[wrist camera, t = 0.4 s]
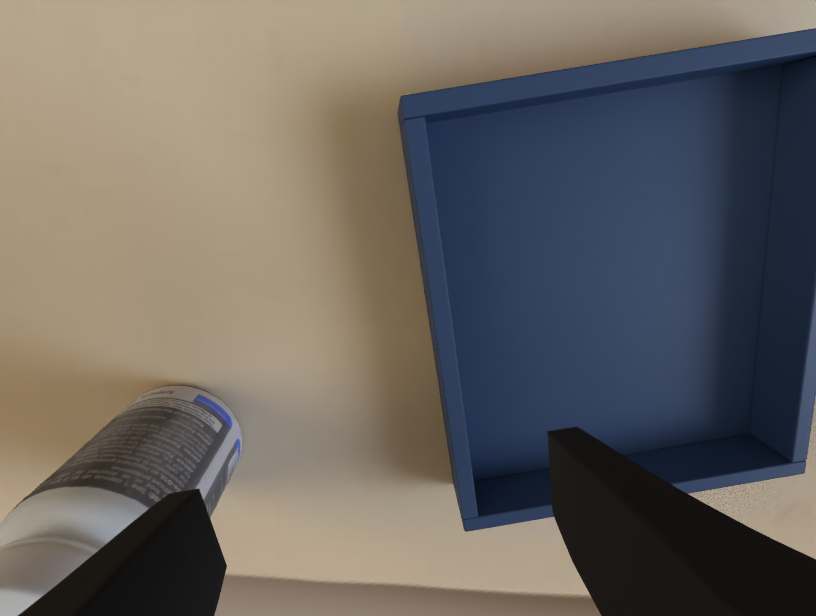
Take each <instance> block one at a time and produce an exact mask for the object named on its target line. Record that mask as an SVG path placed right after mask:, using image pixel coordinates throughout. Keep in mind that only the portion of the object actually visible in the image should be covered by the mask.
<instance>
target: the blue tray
mask: <svg viewBox="0 0 816 616" xmlns="http://www.w3.org/2000/svg"><path fill="white" fill-rule="evenodd" d="M398 118H399V125H400V132H401V138H402V145H403V152H404V158H405V165H406V171H407V178H408V185H409V191H410V198H411V205H412V211H413V218H414V224H415V231H416V238H417V244H418V251H419V258H420V264H421V271H422V277H423V284H424V291H425V297H426V304H427V311H428V317H429V324H430V330H431V337H432V344H433V350H434V357H435V364H436V370H437V377H438V383H439V390H440V397H441V403H442V410H443V417H444V423H445V430H446V436H447V443H448V450H449V456H450V463H451V470H452V476H453V483H454V488H455V492H456V497H457V501H458V505H459V510H460V514H461V518H462V522H463V527H464V530H465V531H466V532H467V531H473V530H479V529H485V528H490V527H496V526H502V525H508V524H514V523H519V522H525V521H531V520H537V519H543V518H548V517H554V515H553V512H552V497H551V481H550V465H549V449H548V433H547V431H552V430H558V429H564V428H571V427H578V428H580V429H582V430H584V431H585V432H587V433H589V434H590V435H592V436H593V437H595V438H597V439H598V440H600V441H601V442H603V443H605V444H606V445H608V446H609V447H611V448H612V449H614V450H616V451H617V452H619V453H620V454H622V455H624V456H625V457H627V458H628V459H630V460H632V461H633V462H635V463H636V464H638V465H640V466H641V467H643V468H645V469H646V470H648V471H650V472H651V473H653V474H654V475H656V476H658V477H659V478H661V479H663V480H664V481H666V482H668V483H670V484H671V485H673V486H675V487H676V488H678V489H680V490H682V491H683V492H685V493H687V494H688V493H693V492H699V491H705V490H711V489H717V488H722V487H728V486H734V485H740V484H746V483H751V482H757V481H763V480H769V479H775V478H780V477H786V476H792V475H798V474H803V473H805V467H806V461H805V460H806V459H807V453H808V446H809V439H810V432H811V425H812V418H813V411H814V404H815V396H816V28H815V29H809V30H802V31H796V32H790V33H784V34H778V35H772V36H766V37H759V38H753V39H747V40H741V41H735V42H729V43H723V44H717V45H710V46H704V47H698V48H692V49H686V50H680V51H674V52H668V53H661V54H655V55H649V56H643V57H637V58H631V59H625V60H619V61H612V62H606V63H600V64H594V65H588V66H582V67H576V68H570V69H563V70H557V71H551V72H545V73H539V74H533V75H527V76H520V77H514V78H508V79H502V80H496V81H490V82H484V83H478V84H471V85H465V86H459V87H453V88H447V89H441V90H435V91H429V92H422V93H416V94H410V95H404V96H401V98H400V103H399V107H398Z"/></svg>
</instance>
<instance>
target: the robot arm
mask: <svg viewBox="0 0 816 616" xmlns="http://www.w3.org/2000/svg"><path fill="white" fill-rule="evenodd" d="M547 433H548V449H549V465H550V481H551V497H552V512H553V515H554V517H555V520H556V522H557V525H558V527H559V530H560V532H561V535H562V537H563V540H564V542H565V545H566V547H567V549H568V552H569V554H570V556H571V559H572V561H573V563H574V565H575V567H576V569H577V571H578V573H579V575H580V576H581V578H582V580H583V582H584V584H585V586H586V588H587V589H588V591H589V593H590V595H591V597H592V599H593V601H594V603H595V604H596V606H597V608H598V610H599V612H600V614H601V615H602V616H816V559H813V558H811V557H809V556H807V555H805V554H803V553H801V552H799V551H796V550H794V549H792V548H790V547H788V546H786V545H784V544H782V543H780V542H777V541H775V540H773V539H771V538H769V537H767V536H765V535H763V534H761V533H759V532H757V531H755V530H753V529H751V528H749V527H747V526H746V525H744V524H742V523H740V522H738V521H736V520H734V519H732V518H731V517H729V516H727V515H725V514H723V513H721V512H719V511H718V510H716V509H714V508H712V507H710V506H708V505H706V504H705V503H703V502H701V501H699V500H697V499H696V498H694V497H692V496H690V495H689V494H687V493H685V492H683V491H682V490H680V489H678V488H676V487H675V486H673V485H671V484H670V483H668V482H666V481H664V480H663V479H661V478H659V477H658V476H656V475H654V474H653V473H651V472H650V471H648V470H646V469H645V468H643V467H641V466H640V465H638V464H636V463H635V462H633V461H632V460H630V459H628V458H627V457H625V456H624V455H622V454H620V453H619V452H617V451H616V450H614V449H612V448H611V447H609V446H608V445H606V444H605V443H603V442H601V441H600V440H598V439H597V438H595V437H593V436H592V435H590V434H589V433H587V432H585V431H584V430H582V429H580V428H578V427H571V428H564V429H558V430H552V431H547ZM226 567H227V565H226V562H225V560H224V557H223V554H222V551H221V548H220V545H219V543H218V540H217V537H216V534H215V531H214V529H213V526H212V523H211V520H210V517H209V514H208V512H207V509H206V506H205V503H204V500H203V497H202V495H201V492H200V489H193V490H187V491H180V492H174V493H169V494H168V495H167V496H165V497H164V498H162V499H161V500H160V501H158V502H157V503H156V504H154V505H153V506H152V507H151V508H149V509H148V510H147V511H145V512H144V513H143V514H142V515H140V516H139V517H138V518H137V519H136V520H134V521H133V522H132V523H131V524H129V525H128V526H127V527H126V528H125V529H123V530H122V531H121V532H120V533H119V534H117V535H116V536H115V537H114V538H113V539H111V540H110V541H109V542H108V543H107V544H105V545H104V546H103V547H102V548H101V549H99V550H98V551H97V552H96V553H95V554H93V555H92V556H91V557H90V558H89V559H87V560H86V561H85V562H84V563H82V564H81V565H80V566H79V567H78V568H76V569H75V570H74V571H73V572H72V573H70V574H69V575H68V576H67V577H66V578H64V579H63V580H62V581H61V582H60V583H58V584H57V585H56V586H55V587H53V588H52V589H51V590H50V591H48V592H47V593H46V594H45V595H43V596H42V597H41V598H40V599H38V600H37V601H36V602H34V603H33V604H32V605H31V606H29V607H28V608H27V609H26V610H24V611H23V612H22V613H21V614H19V615H18V616H214V614H215V611H216V607H217V603H218V600H219V596H220V592H221V588H222V584H223V579H224V576H225V572H226Z"/></svg>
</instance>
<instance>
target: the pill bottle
mask: <svg viewBox="0 0 816 616" xmlns="http://www.w3.org/2000/svg"><path fill="white" fill-rule="evenodd" d="M241 452H242V434H241V429H240V426H239V424H238V422H237V420H236V418H235V416H234V415H233V413H232V412H231V411H230V409H229V408H228V407H227V406H226V405H225V404H224V403H223V402H222V401H221V400H220V399H218V398H217V397H215V396H213V395H211V394H210V393H207V392H205V391H203V390H200V389H196V388H193V387H189V386H167V387H161V388H157V389H154V390H151V391H149V392H147V393H145V394H143V395H141V396H140V397H138V398H137V399H135V400H134V401H133V402H132V403H130V404H129V405H128V406H127V407H126V408H125V409H124V410H123V411H122V412H121V413H119V414H118V415H117V416H116V417H115V418H114V419H113V420H112V421H111V422H110V423H109V424H107V425H106V426H105V427H104V428H103V429H102V430H101V431H100V432H99V433H97V434H96V435H95V436H94V437H93V438H92V439H91V440H90V441H89V442H87V443H86V444H85V445H84V446H83V447H82V448H81V449H80V450H79V451H78V452H77V453H76V454H75V455H73V456H72V457H71V458H70V459H69V460H68V461H66V462H65V463H64V464H63V465H62V466H61V467H60V468H59V469H58V470H56V471H55V472H54V473H53V474H52V475H51V476H50V477H49V478H48V479H46V480H45V481H44V482H43V483H42V484H40V485H39V486H38V487H37V488H36V489H35V490H34V491H33V492H32V493H31V494H30V495H28V496H27V497H25V498H24V499H23V500H22V501H21V502H20V503H19V504H18V505H17V506H16V507H15V508H14V509H13V510H12V511H11V512H10V513H9V514H8V515H7V516H6V517H5V519H4V520H3V521H2V523H1V524H0V616H18V615H19V614H21V613H22V612H23V611H24V610H26V609H27V608H28V607H29V606H31V605H32V604H33V603H34V602H36V601H37V600H38V599H40V598H41V597H42V596H43V595H45V594H46V593H47V592H48V591H50V590H51V589H52V588H53V587H55V586H56V585H57V584H58V583H60V582H61V581H62V580H63V579H64V578H66V577H67V576H68V575H69V574H70V573H72V572H73V571H74V570H75V569H76V568H78V567H79V566H80V565H81V564H82V563H84V562H85V561H86V560H87V559H89V558H90V557H91V556H92V555H93V554H95V553H96V552H97V551H98V550H99V549H101V548H102V547H103V546H104V545H105V544H107V543H108V542H109V541H110V540H111V539H113V538H114V537H115V536H116V535H117V534H119V533H120V532H121V531H122V530H123V529H125V528H126V527H127V526H128V525H129V524H131V523H132V522H133V521H134V520H136V519H137V518H138V517H139V516H140V515H142V514H143V513H144V512H145V511H147V510H148V509H149V508H151V507H152V506H153V505H154V504H156V503H157V502H158V501H160V500H161V499H162V498H164V497H165V496H167V495H168V494H169V493H174V492H180V491H187V490H193V489H200V492H201V495H202V497H203V500H204V503H205V506H206V509H207V512H208V514H209V517H211V515H212V513H213V511H214V509H215V507H216V505H217V503H218V501H219V499H220V497H221V495H222V493H223V491H224V489H225V487H226V485H227V483H228V481H229V480H230V478H231V475H232V473H233V471H234V469H235V467H236V465H237V463H238V461H239V459H240V456H241Z"/></svg>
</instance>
